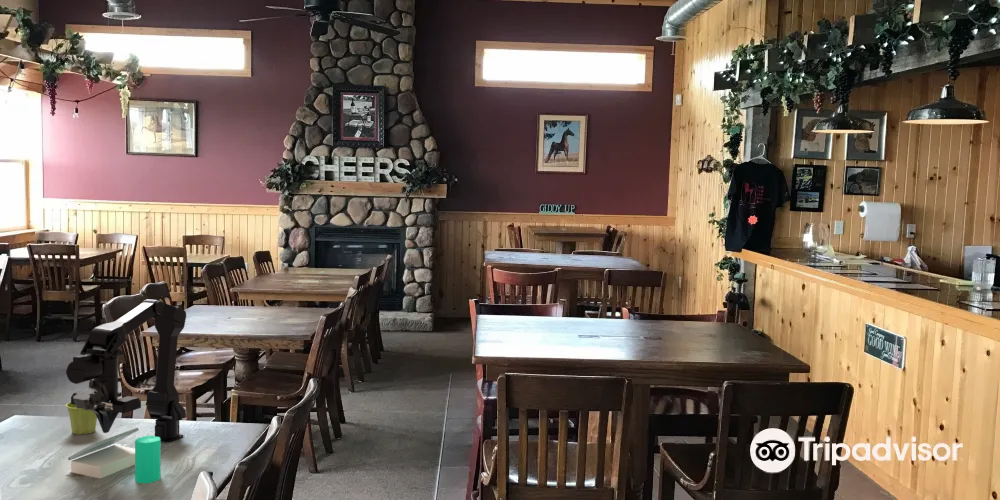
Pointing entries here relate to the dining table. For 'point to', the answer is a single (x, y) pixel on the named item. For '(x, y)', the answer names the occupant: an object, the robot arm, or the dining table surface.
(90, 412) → the plant pot
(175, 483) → the dining table surface
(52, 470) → the dining table surface
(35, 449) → the dining table surface
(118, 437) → the lid
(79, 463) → the small notepad
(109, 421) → the robot arm
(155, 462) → the candle
